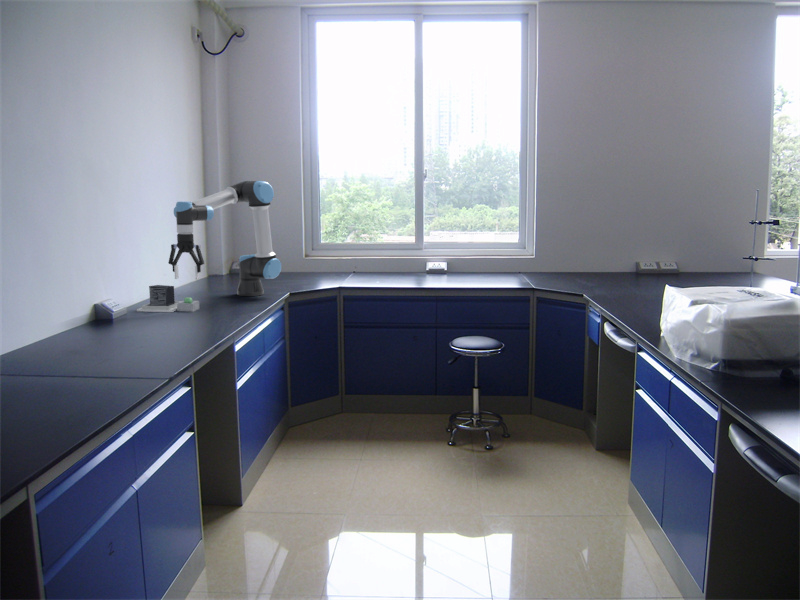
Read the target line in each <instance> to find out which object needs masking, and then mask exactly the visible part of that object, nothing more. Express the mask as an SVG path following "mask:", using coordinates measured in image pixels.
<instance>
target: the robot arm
mask: <svg viewBox="0 0 800 600" xmlns="http://www.w3.org/2000/svg"><path fill="white" fill-rule="evenodd" d="M274 197H275V190H274V188H273V187H272V185H271V184H270V183H269V182H267V181H264V180H243V181H240V182H238V183H235V184H232V185H230V186H227V187H226V188H225V189H224V190H221V191H218V192H216V193H213V194H210V195H207V196H204V197H202V198H199V199H197V200H194V201H177V202H175V207H174V208H173V215H174V217H175V219H176V233H177V234H176V240H177V243H176V244H174V243H172V244H171V245H170V249H171V250H170V254H169V258H168V264H169V265H171V266H172V272H173V273H174V279H175V280H178V279H179V265H178V262H179V260H180V259H181V256H182V254H183V253H186V254H187V253H188V254H189V255H190V256H191V258H192V260H193V261H194V263H195V266H194V271H195V275H194V276H195V280H199V279H200V273H202V272H201V270H202V269H201V268H202V267H201V266H203V265H205V260H204V257H203V254H202V251H201V244H195V243H194V234H193V233H194V222H196V221H197V222H199V221H201V222H202V221H203V222H204V221H205V222H207V221H211V220H213V218H214V216H215V213H214V210H216V209H219V208H221V207H224V206H227V205H230V204H232V205H234V204H238V203H248V207H249V208H250V209H251V210H252V212H251V213H252V217H253V219H252V221H253V228H254V235H255V236H254V237H255V244H256V245H255V246H256V253H255V254H245V255H244V254H243V255H240V256H239V261H238V265H239V266H238V267H239V269H238V270H239V282H238V286H237V290H236V295H237V296H240V297H258V296H263V295H264V294H265V290H264V286H263V283H262V281H261V279H266V280H273V279H276V278H277V277H279V275H280V274H281V271H282V262H281V261H280V259H279V258H277V254H276V253H275V252H274V250H273V241H272V233H271V232H272V231H271V222H270V213H269V208H270V207H271V202H272V201H273V199H274ZM177 248H178V251H177ZM194 249H195V250H194ZM176 251H177V253H176ZM195 252H196V253H195ZM175 255H176V256H175Z"/></svg>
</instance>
